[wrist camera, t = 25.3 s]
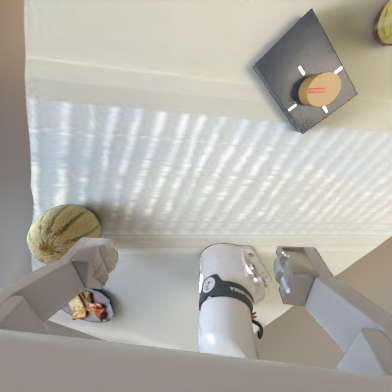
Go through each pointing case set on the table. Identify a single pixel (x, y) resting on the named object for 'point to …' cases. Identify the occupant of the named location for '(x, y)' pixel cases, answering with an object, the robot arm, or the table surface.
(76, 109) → the table surface
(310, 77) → the tan cylinder
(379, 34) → the sauce bottle
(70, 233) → the cantaloupe
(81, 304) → the food plate
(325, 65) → the grey dial panel
